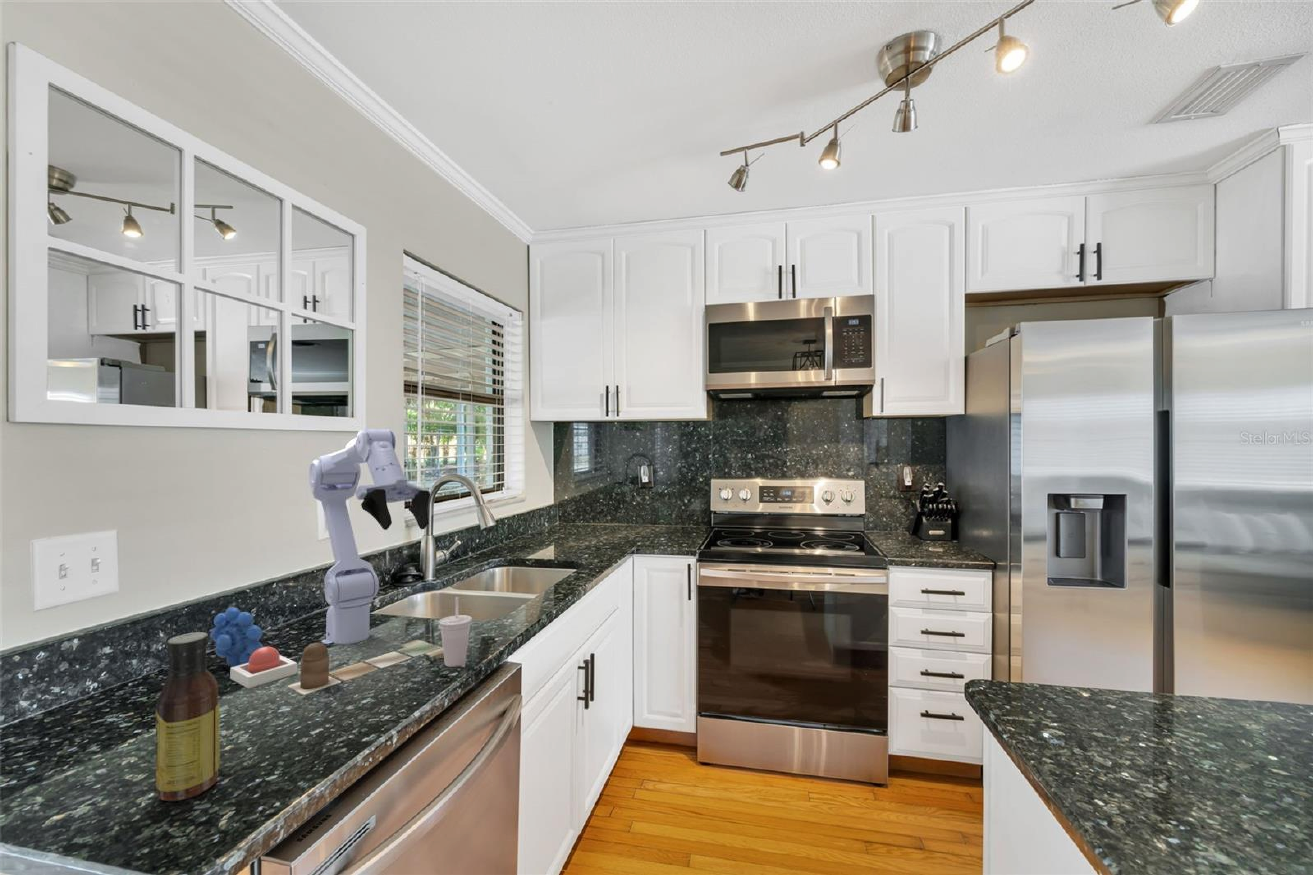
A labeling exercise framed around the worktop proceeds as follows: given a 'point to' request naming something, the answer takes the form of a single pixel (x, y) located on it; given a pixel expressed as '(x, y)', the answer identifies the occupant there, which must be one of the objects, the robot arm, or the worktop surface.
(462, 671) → the worktop surface
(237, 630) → the grapes
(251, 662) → the dome button
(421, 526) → the robot arm
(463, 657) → the smoothie
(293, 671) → the dome base
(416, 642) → the game board
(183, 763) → the sauce bottle
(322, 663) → the walnut pawn
